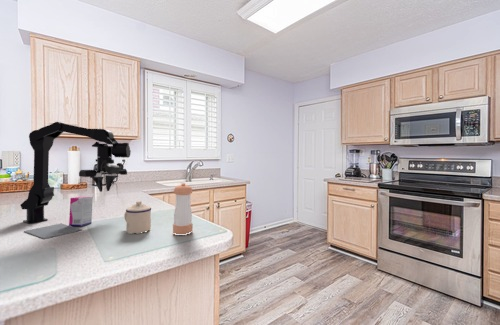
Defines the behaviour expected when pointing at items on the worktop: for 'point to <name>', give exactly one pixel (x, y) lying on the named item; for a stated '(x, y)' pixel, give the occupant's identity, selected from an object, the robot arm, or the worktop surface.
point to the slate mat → (52, 231)
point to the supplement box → (80, 211)
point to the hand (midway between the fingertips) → (104, 191)
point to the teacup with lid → (138, 218)
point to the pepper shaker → (182, 210)
